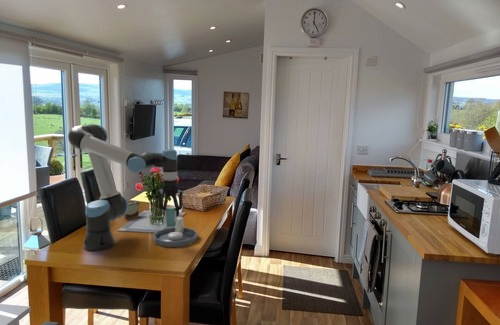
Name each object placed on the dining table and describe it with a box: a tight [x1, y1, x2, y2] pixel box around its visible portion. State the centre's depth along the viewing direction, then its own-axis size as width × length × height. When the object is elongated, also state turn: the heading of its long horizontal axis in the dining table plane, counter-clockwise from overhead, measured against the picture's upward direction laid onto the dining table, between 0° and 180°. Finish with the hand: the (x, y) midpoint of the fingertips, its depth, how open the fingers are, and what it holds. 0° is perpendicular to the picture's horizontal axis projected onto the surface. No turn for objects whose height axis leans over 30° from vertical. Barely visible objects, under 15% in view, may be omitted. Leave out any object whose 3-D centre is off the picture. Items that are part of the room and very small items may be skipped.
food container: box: [123, 200, 141, 220], centre depth 250 cm, size 12×6×10 cm, turn 141°
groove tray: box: [152, 226, 199, 248], centre depth 212 cm, size 24×24×3 cm
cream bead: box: [174, 216, 185, 234], centre depth 219 cm, size 5×5×9 cm
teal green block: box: [166, 207, 176, 228], centre depth 202 cm, size 5×5×9 cm
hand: (171, 221), depth 203 cm, fingers closed on teal green block, 5 cm apart
